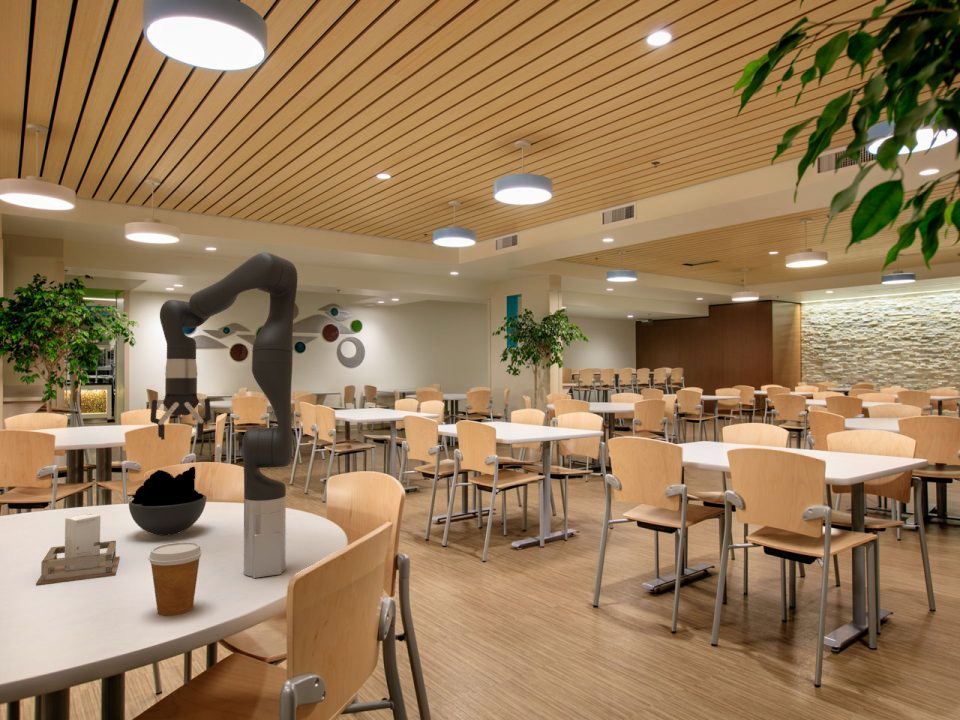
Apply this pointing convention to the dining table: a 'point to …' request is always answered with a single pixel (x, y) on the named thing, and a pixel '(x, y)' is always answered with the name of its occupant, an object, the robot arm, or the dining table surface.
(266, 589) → the dining table surface
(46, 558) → the shallow wooden tray
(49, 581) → the walnut board
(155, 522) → the bowl of black rocks
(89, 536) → the skincare box
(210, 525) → the dining table surface
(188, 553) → the disposable coffee cup
